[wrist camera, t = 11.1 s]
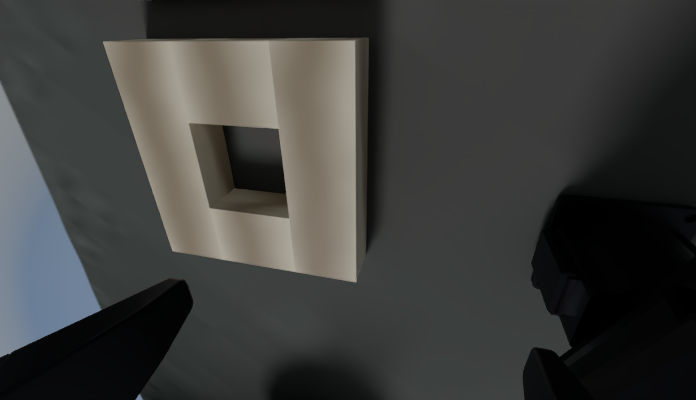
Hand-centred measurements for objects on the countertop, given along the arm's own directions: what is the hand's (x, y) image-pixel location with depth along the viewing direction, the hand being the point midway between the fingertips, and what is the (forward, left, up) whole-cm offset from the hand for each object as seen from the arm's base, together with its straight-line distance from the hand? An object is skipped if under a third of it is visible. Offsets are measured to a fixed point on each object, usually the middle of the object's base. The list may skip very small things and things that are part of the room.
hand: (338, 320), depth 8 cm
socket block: (+9, +1, -13) cm, 16 cm away
